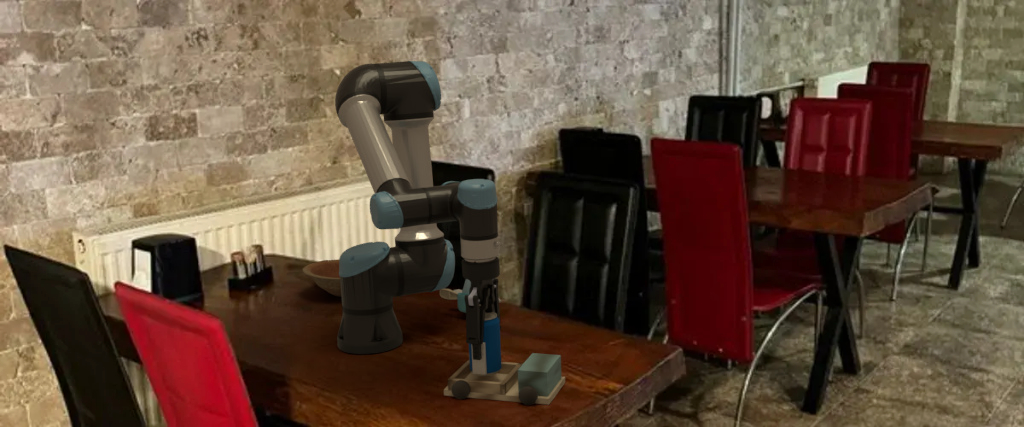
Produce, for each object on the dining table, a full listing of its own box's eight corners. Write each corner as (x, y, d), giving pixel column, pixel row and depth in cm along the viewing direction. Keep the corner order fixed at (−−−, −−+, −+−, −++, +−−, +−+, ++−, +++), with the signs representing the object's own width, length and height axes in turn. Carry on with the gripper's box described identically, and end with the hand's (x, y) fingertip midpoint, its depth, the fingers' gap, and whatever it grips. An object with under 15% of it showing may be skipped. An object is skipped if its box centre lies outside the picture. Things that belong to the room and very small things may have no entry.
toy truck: (441, 397, 199) (440, 368, 198) (467, 372, 213) (465, 344, 211) (547, 407, 192) (546, 376, 191) (566, 380, 206) (565, 351, 205)
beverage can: (469, 367, 206) (466, 311, 204) (500, 365, 207) (498, 309, 204) (470, 378, 200) (467, 321, 197) (502, 376, 200) (500, 319, 198)
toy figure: (515, 314, 251) (512, 257, 248) (487, 325, 243) (484, 266, 240) (466, 304, 262) (463, 249, 259) (438, 314, 254) (435, 257, 251)
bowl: (385, 304, 265) (383, 275, 263) (296, 307, 265) (293, 278, 264) (396, 280, 288) (394, 253, 286) (314, 283, 289) (312, 256, 287)
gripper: (481, 271, 188) (487, 386, 193) (513, 246, 206) (517, 352, 211) (444, 269, 190) (451, 383, 195) (479, 245, 208) (484, 350, 213)
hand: (485, 367), depth 203 cm, fingers closed on beverage can, 6 cm apart
